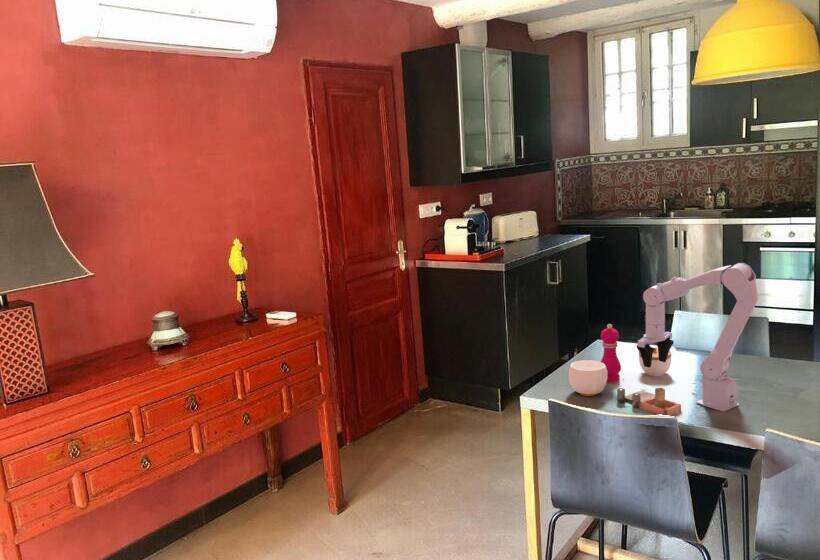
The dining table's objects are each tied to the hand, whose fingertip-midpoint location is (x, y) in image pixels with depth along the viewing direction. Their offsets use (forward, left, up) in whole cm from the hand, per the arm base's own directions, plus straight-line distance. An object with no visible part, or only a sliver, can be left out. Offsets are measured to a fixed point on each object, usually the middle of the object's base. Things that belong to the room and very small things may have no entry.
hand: (655, 364), depth 217 cm
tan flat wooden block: (-1, +7, -11) cm, 13 cm away
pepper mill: (+18, 0, -10) cm, 21 cm away
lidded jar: (+12, -16, -10) cm, 22 cm away
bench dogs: (-1, +13, -10) cm, 17 cm away
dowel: (-10, +10, -9) cm, 17 cm away
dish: (-10, +10, -10) cm, 18 cm away
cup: (+14, +15, -10) cm, 23 cm away
